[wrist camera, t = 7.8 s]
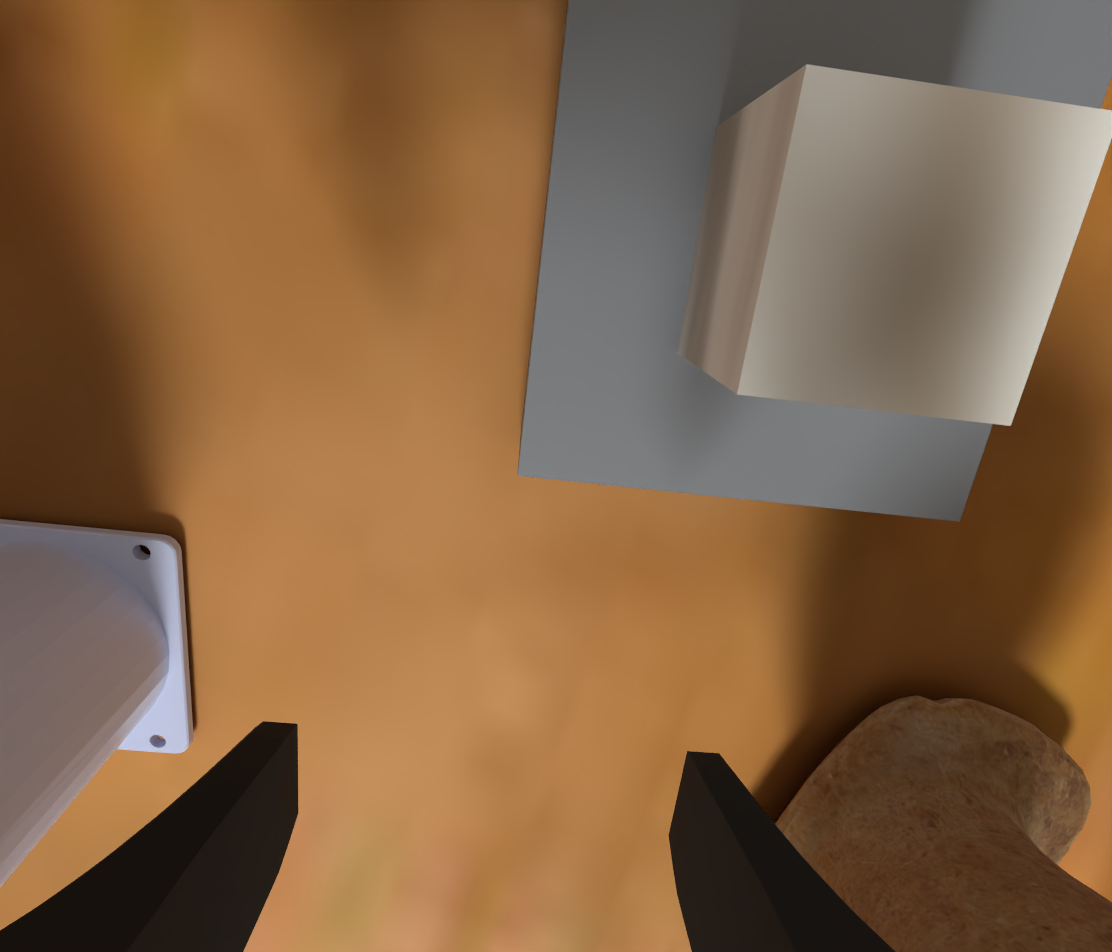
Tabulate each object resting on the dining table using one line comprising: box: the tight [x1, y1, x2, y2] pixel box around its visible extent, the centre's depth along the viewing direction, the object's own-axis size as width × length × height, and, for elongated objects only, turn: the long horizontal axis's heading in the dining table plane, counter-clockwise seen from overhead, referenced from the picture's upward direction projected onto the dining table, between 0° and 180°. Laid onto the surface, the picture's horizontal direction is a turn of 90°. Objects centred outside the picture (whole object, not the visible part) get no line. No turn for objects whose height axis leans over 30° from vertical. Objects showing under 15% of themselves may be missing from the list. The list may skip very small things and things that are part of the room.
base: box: [518, 0, 1112, 522], centre depth 17 cm, size 12×12×3 cm
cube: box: [677, 64, 1112, 426], centre depth 13 cm, size 5×5×5 cm
